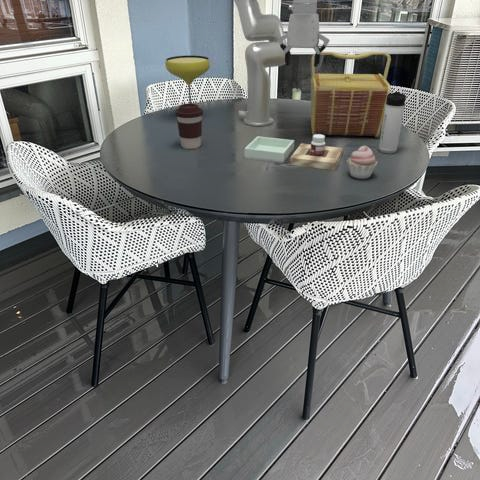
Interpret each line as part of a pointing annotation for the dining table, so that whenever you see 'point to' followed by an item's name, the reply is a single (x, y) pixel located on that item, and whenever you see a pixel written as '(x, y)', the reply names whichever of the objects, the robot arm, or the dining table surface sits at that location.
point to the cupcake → (362, 163)
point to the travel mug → (392, 122)
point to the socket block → (316, 157)
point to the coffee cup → (189, 125)
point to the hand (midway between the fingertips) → (301, 65)
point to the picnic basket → (348, 100)
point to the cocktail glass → (188, 68)
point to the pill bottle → (318, 145)
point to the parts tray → (269, 149)
